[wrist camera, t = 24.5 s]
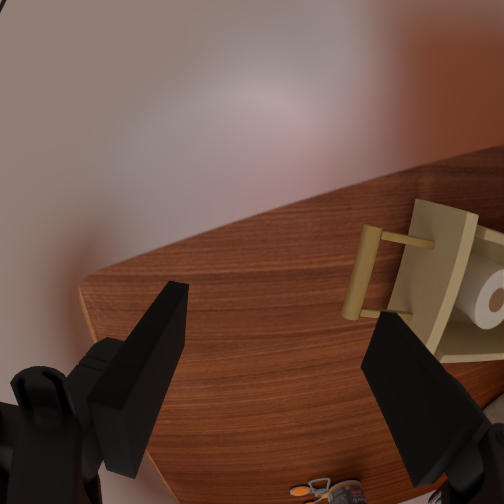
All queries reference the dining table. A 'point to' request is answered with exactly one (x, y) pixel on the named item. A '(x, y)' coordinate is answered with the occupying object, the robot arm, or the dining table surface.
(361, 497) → the pill bottle
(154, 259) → the dining table surface
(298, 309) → the dining table surface
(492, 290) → the paper roll
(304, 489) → the key chain
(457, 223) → the drawer
